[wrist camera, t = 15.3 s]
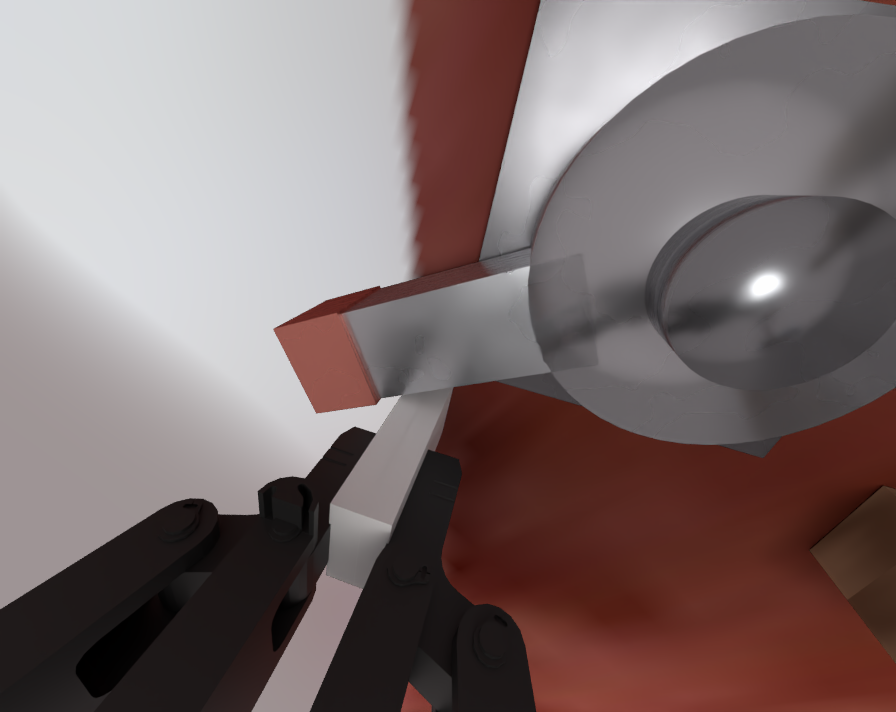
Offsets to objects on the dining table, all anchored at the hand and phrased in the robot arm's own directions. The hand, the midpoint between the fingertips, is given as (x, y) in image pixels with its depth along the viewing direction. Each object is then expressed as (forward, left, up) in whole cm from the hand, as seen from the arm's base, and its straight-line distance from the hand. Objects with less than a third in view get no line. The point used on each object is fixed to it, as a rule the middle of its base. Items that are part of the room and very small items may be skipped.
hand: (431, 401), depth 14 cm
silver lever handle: (+5, -3, -1) cm, 6 cm away
